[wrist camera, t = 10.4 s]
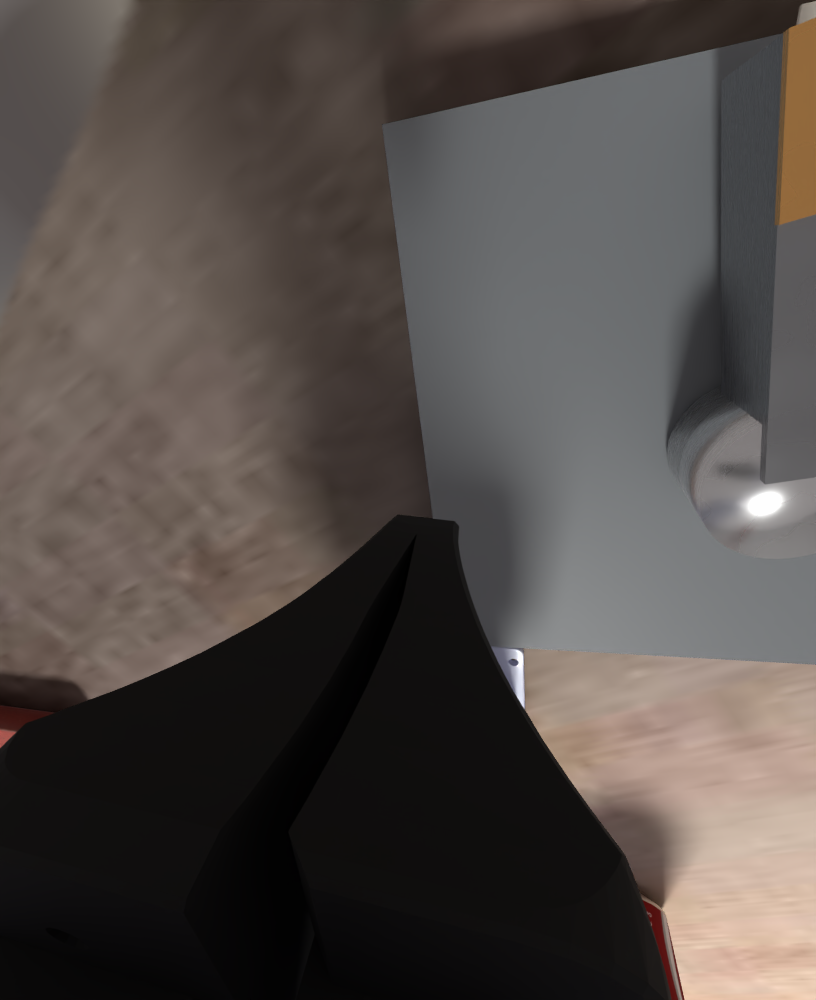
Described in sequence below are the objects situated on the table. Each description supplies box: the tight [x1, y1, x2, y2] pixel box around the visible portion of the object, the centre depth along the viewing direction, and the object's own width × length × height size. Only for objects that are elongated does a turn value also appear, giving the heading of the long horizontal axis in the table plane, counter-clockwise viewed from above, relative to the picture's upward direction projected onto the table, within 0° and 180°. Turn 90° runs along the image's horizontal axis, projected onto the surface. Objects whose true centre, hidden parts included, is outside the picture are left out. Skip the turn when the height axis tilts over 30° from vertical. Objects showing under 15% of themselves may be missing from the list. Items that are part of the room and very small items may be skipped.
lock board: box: [382, 1, 816, 665], centre depth 15 cm, size 20×21×2 cm
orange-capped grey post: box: [667, 17, 816, 559], centre depth 12 cm, size 4×12×4 cm, turn 17°
